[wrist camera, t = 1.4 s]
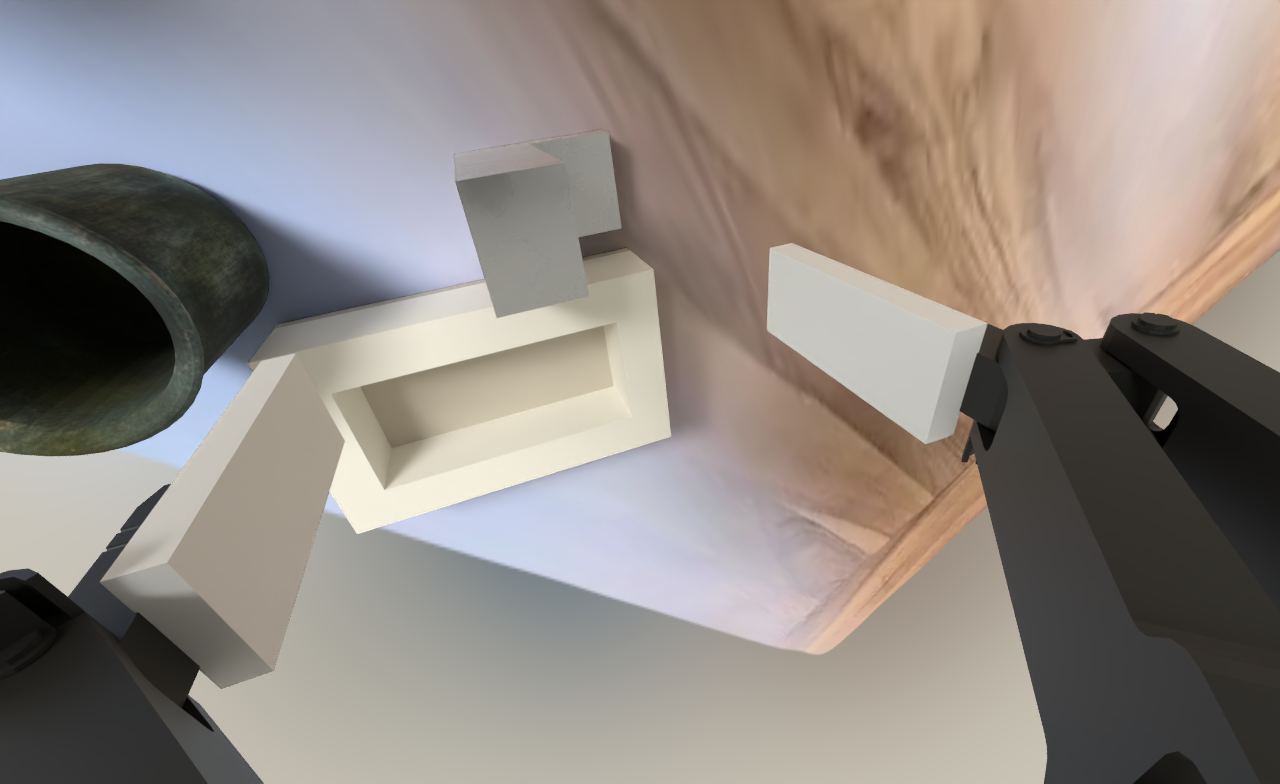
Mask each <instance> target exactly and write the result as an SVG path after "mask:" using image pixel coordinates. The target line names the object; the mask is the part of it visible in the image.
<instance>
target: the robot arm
mask: <svg viewBox="0 0 1280 784" xmlns="http://www.w3.org/2000/svg"><path fill="white" fill-rule="evenodd" d="M767 331H769V332H770V333H771V334H773V335H774V336H776V337H777V338H778V339H780V340H781V341H783V342H784V343H785V344H787V345H788V346H789V347H791V348H792V349H794V350H795V351H796V352H798V353H799V354H801V355H802V356H803V357H805V358H806V359H808V360H809V361H810V362H812V363H813V364H814V365H816V366H817V367H819V368H820V369H821V370H823V371H824V372H826V373H827V374H828V375H830V376H831V377H833V378H834V379H835V380H837V381H838V382H840V383H841V384H842V385H844V386H845V387H846V388H848V389H849V390H851V391H852V392H853V393H855V394H856V395H858V396H859V397H860V398H862V399H863V400H865V401H866V402H867V403H869V404H870V405H872V406H873V407H874V408H876V409H877V410H878V411H880V412H881V413H883V414H884V415H885V416H887V417H888V418H890V419H891V420H892V421H894V422H895V423H897V424H898V425H899V426H901V427H902V428H904V429H905V430H906V431H908V432H909V433H910V434H912V435H913V436H915V437H916V438H917V439H919V440H920V441H922V442H923V443H924V444H928V443H931V442H934V441H937V440H940V439H943V438H946V437H949V436H952V435H954V431H955V428H956V425H957V422H958V418H959V415H960V412H962V413H964V414H966V415H967V416H969V417H971V418H972V419H974V422H973V425H972V428H971V431H970V434H969V437H968V440H967V443H966V446H965V449H964V452H963V455H962V461H961V462H968V459H969V456H970V455H972V454H974V453H975V457H976V464H977V465H978V469H979V473H980V477H981V481H982V485H983V489H984V493H985V497H986V501H987V505H988V509H989V513H990V517H991V521H992V525H993V529H994V533H995V536H996V541H997V545H998V549H999V553H1000V557H1001V561H1002V565H1003V569H1004V573H1005V577H1006V581H1007V585H1008V589H1009V593H1010V597H1011V601H1012V604H1013V608H1014V613H1015V617H1016V621H1017V625H1018V629H1019V633H1020V637H1021V641H1022V645H1023V649H1024V653H1025V657H1026V661H1027V665H1028V669H1029V673H1030V677H1031V681H1032V685H1033V689H1034V693H1035V697H1036V701H1037V705H1038V709H1039V713H1040V717H1041V721H1042V725H1043V729H1044V733H1045V738H1046V744H1047V765H1046V773H1045V780H1044V784H1280V373H1279V372H1277V371H1276V370H1274V369H1272V368H1270V367H1268V366H1266V365H1265V364H1263V363H1261V362H1259V361H1257V360H1255V359H1254V358H1252V357H1250V356H1248V355H1246V354H1244V353H1243V352H1241V351H1239V350H1237V349H1235V348H1233V347H1231V346H1230V345H1228V344H1226V343H1224V342H1222V341H1221V340H1218V339H1217V338H1215V337H1213V336H1211V335H1209V334H1208V333H1206V332H1204V331H1202V330H1200V329H1198V328H1197V327H1195V326H1193V325H1190V324H1188V323H1185V322H1183V321H1180V320H1177V319H1173V318H1171V317H1169V316H1167V315H1162V314H1155V313H1143V314H1133V313H1131V314H1123V315H1118V316H1116V317H1114V318H1112V319H1111V321H1110V323H1109V326H1108V328H1107V330H1106V332H1105V334H1104V337H1103V338H1100V339H1088V340H1083V339H1082V338H1081V337H1080V336H1078V335H1077V334H1076V333H1074V332H1072V331H1070V330H1066V329H1064V328H1060V327H1056V326H1052V325H1046V324H1037V323H1020V324H1015V325H1011V326H1009V327H1007V328H1006V329H1004V330H1002V329H999V328H997V327H994V326H992V325H990V324H988V323H985V322H983V321H980V320H978V319H976V318H973V317H971V316H968V315H966V314H963V313H961V312H959V311H956V310H954V309H951V308H949V307H946V306H944V305H942V304H939V303H937V302H934V301H932V300H929V299H927V298H925V297H922V296H920V295H917V294H915V293H912V292H910V291H908V290H905V289H903V288H900V287H898V286H895V285H893V284H890V283H888V282H886V281H883V280H881V279H878V278H876V277H873V276H871V275H869V274H866V273H864V272H861V271H859V270H856V269H854V268H852V267H849V266H847V265H844V264H842V263H839V262H837V261H835V260H832V259H830V258H827V257H825V256H822V255H820V254H817V253H815V252H813V251H810V250H808V249H805V248H803V247H800V246H798V245H796V244H793V243H790V244H785V245H781V246H776V247H772V248H770V258H769V285H768V312H767ZM1167 396H1169V397H1171V398H1172V400H1173V401H1174V402H1175V403H1176V405H1177V407H1178V411H1177V412H1176V414H1175V416H1174V417H1173V419H1172V421H1171V422H1170V424H1169V425H1168V426H1167V427H1166V428H1165V429H1164V430H1163V429H1162V428H1160V427H1159V426H1157V425H1156V424H1155V423H1154V422H1153V420H1154V418H1155V417H1156V415H1157V413H1158V411H1159V410H1160V408H1161V406H1162V404H1163V403H1164V401H1165V399H1166V398H1167ZM344 443H345V440H344V438H343V437H342V435H341V433H340V431H339V429H338V428H337V426H336V424H335V422H334V421H333V419H332V417H331V415H330V413H329V412H328V410H327V408H326V406H325V404H324V403H323V401H322V399H321V397H320V396H319V394H318V392H317V390H316V388H315V387H314V385H313V383H312V381H311V379H310V378H309V376H308V374H307V372H306V371H305V369H304V367H303V365H302V363H301V362H300V360H299V358H298V356H297V354H296V353H295V354H290V355H286V356H281V357H277V358H272V359H268V360H263V361H261V362H260V363H259V365H258V366H257V367H256V369H255V370H254V371H253V373H252V374H251V376H250V377H249V378H248V380H247V381H246V382H245V384H244V385H243V387H242V388H241V389H240V391H239V392H238V393H237V395H236V396H235V397H234V399H233V400H232V402H231V403H230V404H229V406H228V407H227V408H226V410H225V411H224V413H223V414H222V415H221V417H220V418H219V419H218V421H217V422H216V423H215V425H214V426H213V428H212V429H211V430H210V432H209V433H208V434H207V436H206V437H205V439H204V440H203V441H202V443H201V444H200V445H199V447H198V448H197V449H196V451H195V452H194V454H193V455H192V456H191V458H190V459H189V460H188V462H187V463H186V465H185V466H184V467H183V469H182V470H181V471H180V473H179V474H178V476H177V477H176V478H175V480H174V481H173V482H172V484H168V485H164V486H163V487H162V488H161V489H159V490H158V491H157V492H156V493H155V494H153V495H152V496H151V497H150V498H148V499H147V500H146V501H145V502H143V503H142V504H141V505H140V506H138V507H137V508H136V510H135V511H134V512H133V514H132V515H131V516H130V517H129V519H128V520H127V521H126V523H125V524H124V525H123V527H122V528H121V533H118V534H116V536H115V537H114V538H113V540H112V541H111V542H110V543H109V545H108V546H107V547H106V549H107V551H106V552H103V553H102V554H101V555H100V556H99V558H98V559H97V560H96V562H95V563H94V564H93V565H92V567H91V568H90V569H89V571H88V572H87V573H86V575H85V576H84V577H83V578H82V580H81V581H80V582H79V584H78V585H77V586H76V588H75V589H74V590H73V591H72V593H71V594H70V595H69V596H68V597H67V596H66V595H65V594H63V593H62V592H61V591H60V590H58V589H57V588H56V587H55V586H53V585H52V584H51V583H49V582H48V581H47V580H46V579H45V578H44V577H42V576H41V575H40V574H39V573H37V572H34V571H32V570H30V569H20V570H12V571H6V572H3V573H1V574H0V784H264V783H263V782H262V781H261V779H260V778H259V777H258V776H257V774H256V773H255V772H254V771H253V769H252V768H251V767H250V766H249V764H248V763H247V762H246V761H245V759H244V758H243V757H242V756H241V754H240V753H239V752H238V751H237V749H236V748H235V747H234V746H233V745H232V743H231V742H230V741H229V740H228V739H227V737H226V736H225V735H224V733H223V732H222V731H221V730H220V728H219V727H218V726H217V725H216V723H215V722H214V721H213V720H212V718H211V717H210V716H209V715H208V713H207V712H206V711H205V710H204V709H203V707H202V706H201V705H200V704H199V703H197V702H196V701H195V700H194V699H192V698H191V697H190V696H189V695H188V694H189V691H190V689H191V687H192V685H193V682H194V680H195V678H196V676H197V673H198V671H199V670H200V671H201V672H203V673H204V674H205V675H206V676H207V677H208V678H209V679H210V680H212V681H213V682H214V683H215V684H216V685H217V686H218V687H220V688H221V689H222V688H225V687H228V686H231V685H234V684H237V683H239V682H243V681H245V680H248V679H251V678H254V677H257V676H260V675H263V674H266V673H268V672H271V671H274V668H275V665H276V661H277V658H278V655H279V652H280V649H281V646H282V642H283V639H284V636H285V632H286V629H287V626H288V623H289V620H290V617H291V613H292V610H293V607H294V604H295V600H296V597H297V594H298V591H299V587H300V584H301V581H302V578H303V575H304V572H305V568H306V565H307V562H308V559H309V555H310V552H311V549H312V546H313V542H314V539H315V536H316V533H317V529H318V526H319V523H320V520H321V517H322V514H323V510H324V507H325V504H326V501H327V497H328V494H329V491H330V488H331V485H332V481H333V478H334V475H335V472H336V468H337V465H338V462H339V459H340V456H341V452H342V449H343V446H344Z"/></svg>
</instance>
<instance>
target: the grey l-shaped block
mask: <svg viewBox="0 0 1280 784" xmlns="http://www.w3.org/2000/svg"><path fill="white" fill-rule="evenodd" d="M454 169H455V182H456V185H457V189H458V192H459V195H460V199H461V202H462V205H463V208H464V212H465V215H466V218H467V222H468V225H469V228H470V232H471V235H472V238H473V241H474V245H475V248H476V251H477V255H478V258H479V261H480V264H481V268H482V271H483V274H484V278H485V281H486V284H487V288H488V291H489V294H490V297H491V301H492V304H493V307H494V311H495V314H496V317H497V318H500V317H504V316H508V315H513V314H517V313H521V312H525V311H529V310H534V309H538V308H542V307H546V306H551V305H555V304H559V303H563V302H568V301H572V300H576V299H580V298H585V297H589V292H588V287H587V281H586V276H585V270H584V265H583V260H582V254H581V249H580V244H579V238H578V237H583V236H588V235H593V234H597V233H602V232H607V231H612V230H617V229H621V228H622V227H621V220H620V213H619V205H618V198H617V190H616V183H615V176H614V168H613V161H612V154H611V146H610V139H609V132H608V131H604V130H596V131H590V132H584V133H578V134H571V135H565V136H559V137H553V138H547V139H541V140H535V141H528V142H522V143H516V144H510V145H504V146H498V147H492V148H485V149H479V150H473V151H467V152H461V153H455V154H454Z"/></svg>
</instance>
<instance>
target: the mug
mask: <svg viewBox="0 0 1280 784" xmlns="http://www.w3.org/2000/svg"><path fill="white" fill-rule="evenodd" d="M268 290H269V274H268V269H267V264H266V261H265V258H264V256H263V253H262V250H261V249H260V247H259V245H258V243H257V242H256V240H255V238H254V237H253V235H252V234H251V233H250V231H249V230H248V229H247V228H246V226H245V225H244V224H243V223H242V222H241V221H240V220H239V219H238V218H237V217H236V216H235V215H234V214H233V213H232V212H231V211H230V210H229V209H228V208H226V207H225V206H224V205H223V204H221V203H220V202H219V201H218V200H216V199H215V198H213V197H212V196H210V195H208V194H207V193H205V192H204V191H202V190H201V189H199V188H197V187H195V186H193V185H191V184H189V183H187V182H185V181H183V180H181V179H178V178H176V177H173V176H170V175H167V174H165V173H162V172H159V171H155V170H151V169H147V168H143V167H138V166H131V165H124V164H93V165H85V166H78V167H73V168H67V169H61V170H55V171H49V172H43V173H37V174H32V175H26V176H20V177H14V178H8V179H2V180H0V452H7V453H14V454H21V455H23V454H24V455H38V456H74V455H85V454H93V453H100V452H106V451H110V450H115V449H119V448H123V447H127V446H130V445H132V444H135V443H138V442H140V441H143V440H146V439H148V438H150V437H152V436H154V435H156V434H158V433H159V432H161V431H163V430H165V429H167V428H168V427H170V426H171V425H172V424H173V423H174V422H176V421H177V420H178V419H179V418H181V417H182V416H183V415H184V413H185V412H186V411H187V410H188V409H189V407H190V406H191V405H192V404H193V402H194V400H195V398H196V396H197V394H198V392H199V390H200V388H201V384H202V379H203V375H204V374H205V373H206V372H207V371H208V369H209V368H210V367H211V366H212V365H213V364H214V363H215V362H216V361H217V360H218V358H219V357H220V356H221V355H222V354H223V353H224V352H225V351H226V350H227V349H228V347H229V346H230V345H231V344H232V343H233V342H234V341H235V340H236V339H237V337H238V336H239V335H240V334H241V333H242V332H243V331H244V330H245V329H246V328H247V326H248V325H249V324H250V323H251V322H252V321H253V320H254V319H255V317H256V316H257V315H258V314H259V312H260V311H261V309H262V307H263V305H264V303H265V301H266V298H267V294H268Z"/></svg>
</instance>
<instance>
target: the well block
mask: <svg viewBox="0 0 1280 784" xmlns="http://www.w3.org/2000/svg"><path fill="white" fill-rule="evenodd" d="M582 260H583V265H584V270H585V276H586V281H587V287H588V292H589V297H585V298H580V299H576V300H572V301H568V302H563V303H559V304H555V305H551V306H546V307H542V308H538V309H534V310H529V311H525V312H521V313H517V314H513V315H508V316H504V317H500V318H497V317H496V314H495V311H494V307H493V304H492V301H491V297H490V294H489V291H488V288H487V284H486V281H485V279H482V280H478V281H473V282H469V283H464V284H460V285H455V286H450V287H446V288H441V289H437V290H432V291H427V292H423V293H418V294H414V295H409V296H405V297H400V298H395V299H391V300H386V301H382V302H377V303H373V304H368V305H363V306H359V307H354V308H350V309H345V310H340V311H336V312H331V313H327V314H322V315H318V316H313V317H308V318H304V319H299V320H295V321H290V322H286V323H281V324H277V326H276V327H275V328H274V329H273V331H272V332H271V333H270V335H269V336H268V337H267V338H266V340H265V341H264V342H263V344H262V345H261V346H260V347H259V349H258V350H257V351H256V353H255V354H254V355H253V356H252V358H251V359H250V360H249V361H248V363H247V364H248V365H249V367H250V369H251V370H252V372H253V371H254V370H255V369H256V367H257V366H258V365H259V363H260V362H261V361H263V360H268V359H272V358H277V357H281V356H286V355H290V354H295V353H296V354H297V356H298V358H299V360H300V362H301V363H302V365H303V367H304V369H305V371H306V372H307V374H308V376H309V378H310V379H311V381H312V383H313V385H314V387H315V388H316V390H317V392H318V394H319V396H320V397H321V399H322V401H323V403H324V404H325V406H326V408H327V410H328V412H329V413H330V415H331V417H332V419H333V421H334V422H335V424H336V426H337V428H338V429H339V431H340V433H341V435H342V437H343V438H344V440H345V443H344V446H343V449H342V452H341V456H340V459H339V462H338V465H337V468H336V472H335V475H334V478H333V481H332V485H331V488H330V493H331V494H332V496H333V497H334V499H335V500H336V502H337V504H338V505H339V507H340V508H341V510H342V511H343V513H344V514H345V516H346V518H347V519H348V521H349V522H350V524H351V525H352V527H353V528H354V530H355V531H356V533H357V534H359V533H362V532H365V531H368V530H372V529H375V528H378V527H381V526H385V525H388V524H391V523H394V522H398V521H401V520H404V519H407V518H410V517H414V516H417V515H420V514H423V513H427V512H430V511H433V510H436V509H440V508H443V507H446V506H449V505H452V504H456V503H459V502H462V501H465V500H469V499H472V498H475V497H478V496H481V495H485V494H488V493H491V492H494V491H498V490H501V489H504V488H507V487H510V486H514V485H517V484H520V483H523V482H527V481H530V480H533V479H536V478H539V477H543V476H546V475H549V474H552V473H556V472H559V471H562V470H565V469H569V468H572V467H575V466H578V465H581V464H585V463H588V462H591V461H594V460H598V459H601V458H604V457H607V456H610V455H614V454H617V453H620V452H623V451H627V450H630V449H633V448H636V447H639V446H643V445H646V444H649V443H652V442H656V441H659V440H662V439H665V438H668V437H671V430H670V420H669V411H668V401H667V392H666V382H665V373H664V364H663V354H662V345H661V335H660V326H659V316H658V307H657V297H656V288H655V278H654V269H652V268H651V267H650V266H649V265H648V264H646V263H645V262H644V261H643V260H641V259H640V258H639V257H638V256H637V255H635V254H634V253H633V252H632V251H630V250H629V249H628V248H624V249H620V250H615V251H611V252H606V253H602V254H597V255H592V256H588V257H583V258H582Z"/></svg>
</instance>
